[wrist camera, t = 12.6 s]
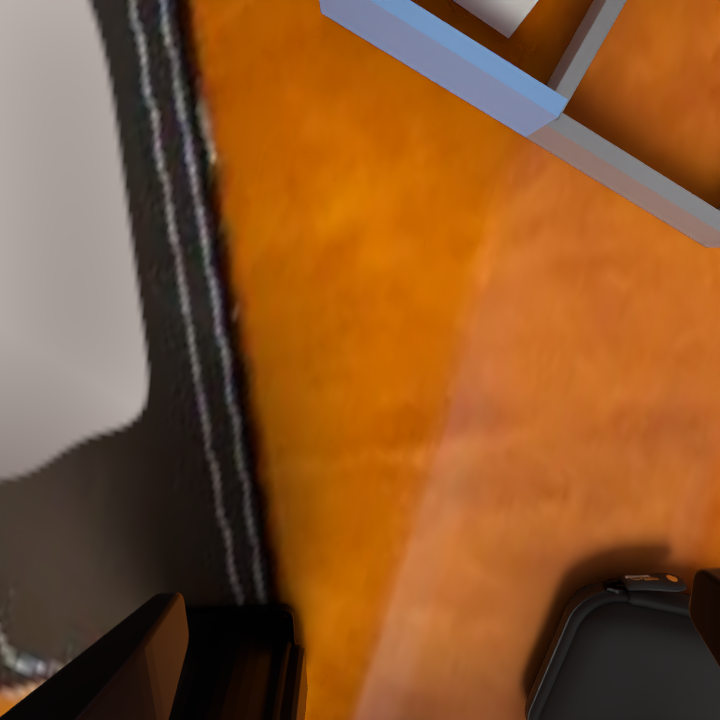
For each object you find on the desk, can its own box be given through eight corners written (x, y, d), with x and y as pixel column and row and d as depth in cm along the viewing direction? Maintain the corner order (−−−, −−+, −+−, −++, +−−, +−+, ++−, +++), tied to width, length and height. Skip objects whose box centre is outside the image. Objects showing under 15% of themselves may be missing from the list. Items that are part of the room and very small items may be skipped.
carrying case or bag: (839, 599, 25) (574, 538, 23) (907, 647, 22) (607, 581, 20) (750, 755, 27) (505, 707, 26) (800, 818, 24) (525, 768, 23)
